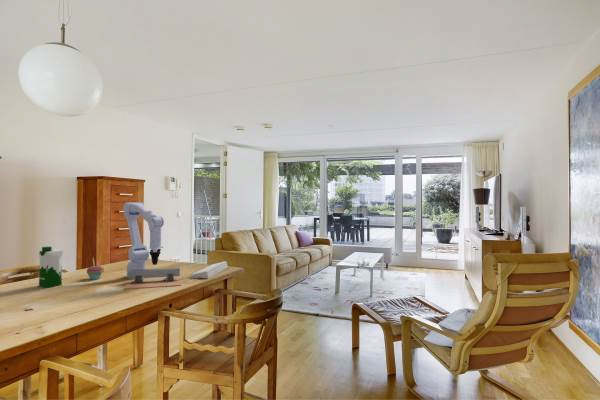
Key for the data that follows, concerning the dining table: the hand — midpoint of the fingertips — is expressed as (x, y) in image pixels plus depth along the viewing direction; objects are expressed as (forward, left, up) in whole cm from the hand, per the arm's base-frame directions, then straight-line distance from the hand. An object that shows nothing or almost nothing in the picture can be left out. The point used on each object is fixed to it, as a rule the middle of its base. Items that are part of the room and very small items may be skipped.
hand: (154, 263), depth 193 cm
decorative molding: (+20, +30, -11) cm, 38 cm away
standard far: (+7, +4, -10) cm, 13 cm away
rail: (0, 0, -7) cm, 7 cm away
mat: (+5, -8, -10) cm, 14 cm away
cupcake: (-35, -2, -10) cm, 36 cm away
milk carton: (-45, -21, -10) cm, 51 cm away
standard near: (-7, -4, -10) cm, 13 cm away
